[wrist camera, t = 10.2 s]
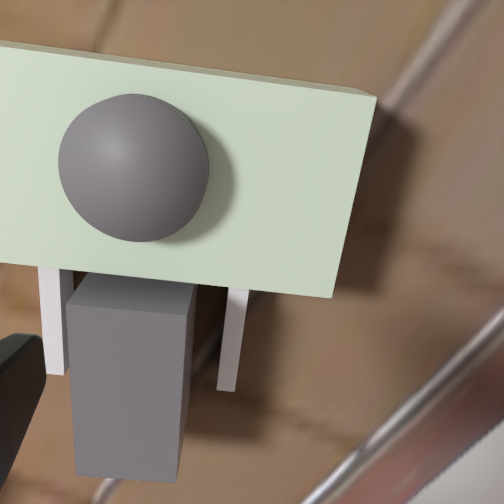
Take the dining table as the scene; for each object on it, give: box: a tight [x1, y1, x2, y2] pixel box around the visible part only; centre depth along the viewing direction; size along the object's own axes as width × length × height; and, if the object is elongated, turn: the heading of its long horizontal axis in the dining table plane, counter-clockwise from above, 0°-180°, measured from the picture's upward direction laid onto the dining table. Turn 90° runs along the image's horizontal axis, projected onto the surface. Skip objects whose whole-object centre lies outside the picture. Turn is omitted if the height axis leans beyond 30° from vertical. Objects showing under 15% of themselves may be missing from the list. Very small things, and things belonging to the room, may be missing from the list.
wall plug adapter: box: [0, 40, 377, 392], centre depth 17 cm, size 14×13×4 cm
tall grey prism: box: [66, 272, 198, 483], centre depth 19 cm, size 4×8×4 cm, turn 174°
